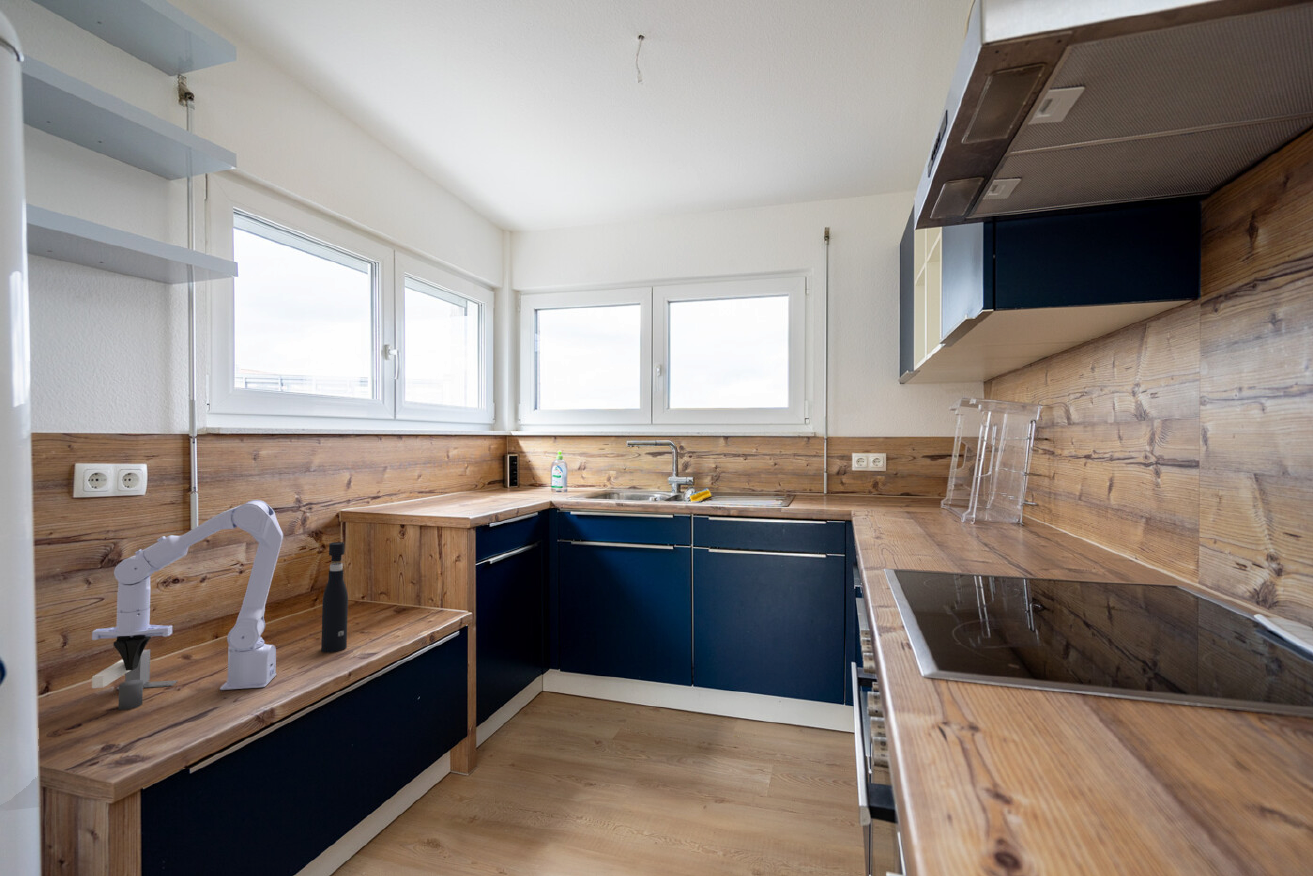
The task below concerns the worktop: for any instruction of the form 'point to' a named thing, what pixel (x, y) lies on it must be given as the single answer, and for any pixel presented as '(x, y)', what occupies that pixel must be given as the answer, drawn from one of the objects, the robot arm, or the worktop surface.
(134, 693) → the plug
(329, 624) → the black water bottle
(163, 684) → the rail
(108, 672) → the tie bar
